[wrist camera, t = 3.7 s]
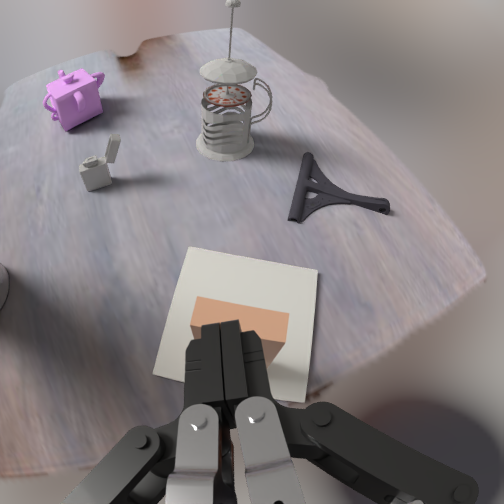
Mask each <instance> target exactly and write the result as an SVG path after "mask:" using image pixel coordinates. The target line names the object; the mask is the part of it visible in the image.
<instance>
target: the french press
mask: <svg viewBox="0 0 504 504" xmlns="http://www.w3.org/2000/svg"><path fill="white" fill-rule="evenodd" d="M240 4H241V3H240V1H239V0H227V1H226V7H232V14H231V15H232V16H231V28H230V43H229V58H222V59H217V60H212V61H210V62H208V63H206V64H205V65H203V66H202V67H201V68H200V74H201V76H202V77H203V78H204V79H205V80H207V81H210V82H212V83H217V84H216V85H215V84H214V85H212V86H210V87H208V88H207V89H206V90H205V91H204V92H203V99H202V103H201V106H202V133H201V134H200V135H199V137H198V138H197V140H196V148H197V149H198V150H199V152H200V153H201V154H202V155H204V156H205V157H207V158H209V159H212V160H217V161H235V160H238V159H241V158H244V157H246V156H247V155H248V154H250V153H251V152H252V150H253V147H254V141H253V138H252V137H251V136H250V130H251V125H252V124H254V123H257V122H260V121H262V120H263V119H265V118H266V117H267V116H268V114H269V113H270V111H271V107H272V93H271V90H270V88H269V86H268V85H267V84H266V83H265V82H264V81H262V80H260V79H259V78H255V79H254V85H253V90H255V85H259V86H261V87H263V88H264V89H265V90H266V91H267V93H268V95H269V97H270V104H269V105H268V107H267V109H266V110H265V111H264V112H263V113H261V114H260V115H256V116H253V117H251V109H252V100H251V96H252V95H251V92H250V91H249V90H248V89H247V88H246V87H243V86H241V85H237V84H242V83H246V82H248V81H250V80H253V78H254V77H255V76H256V74H257V70H256V68H255V67H254V66H252V65H251V64H249V63H247V62H245V61H243V60H240V59H233V58H230V52H231V37H232V23H233V9H234V7H240ZM256 80H259V81H261V82H263V83H264V84H265V85H266V86H267V87H268V90H269V91H268V90H267V89H266V88H265V87H264V86H262V85H261V84H259V83H256ZM269 92H270V93H269ZM244 103H246V106H245V105H244ZM210 104H213V105H215V106H213V107H210V108H207V105H210ZM239 105H240V106H242V107H243V108H244V109H245V112H244V111H243V110H242V109H240V108H238V107H236V106H239ZM220 106H222V107H224V108H222V109H220V110H218V111H216V112H213V113H212V112H209V111H212V110H214V109H216V108H218V107H220ZM227 109H235V110H237V111H239V112H241V113H240V114H237V113H236V112H226V113H224V114H222V115H220V114H218V113H220V112H223V111H225V110H227ZM268 109H269V111H268V113H267V114H266V115H265V117H264V118H262V119H261V120H258V121H254V122H252V123H251V120H252V118H256V117H259V116H261V115H263V114H264V113H266V111H267V110H268ZM241 121H243V123H242V122H241ZM209 123H211V124H213V125H211V126H207V124H209Z"/></svg>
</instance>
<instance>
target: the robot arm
mask: <svg viewBox="0 0 504 504" xmlns="http://www.w3.org/2000/svg"><path fill="white" fill-rule="evenodd" d="M8 290H9V276H8V273H7V271H6V269H5V267H4V266H3V265H2V264H1V263H0V309H1V308H2V306H3V304H4V302H5V300H6V297H7V294H8ZM236 426H237V430H238V435H239V440H240V445H241V450H242V454H243V459H244V463H245V477H246V482H247V487H248V491H249V495H250V500H251V504H306V503H305V500H304V497H303V493H302V490H301V487H300V484H299V480H298V477H297V474H296V471H295V467H294V464H293V462H292V460H291V457H293V458H303V459H307V460H308V461H310V462H311V463H313V464H314V465H316V466H317V467H319V468H320V469H322V470H323V471H325V472H326V473H328V474H329V475H331V476H333V477H334V478H336V479H337V480H339V481H340V482H342V483H344V484H345V485H347V486H348V487H350V488H352V489H353V490H355V491H357V492H358V493H360V494H362V495H364V496H365V497H367V498H369V499H371V500H372V501H374V502H376V503H378V504H474V503H475V502H476V500H477V497H478V485H477V483H476V481H475V480H474V479H473V478H472V477H470V476H468V475H466V474H463V473H461V472H459V471H457V470H455V469H453V468H450V467H448V466H446V465H444V464H442V463H440V462H438V461H436V460H434V459H431V458H430V457H428V456H426V455H424V454H422V453H420V452H418V451H416V450H414V449H412V448H410V447H408V446H406V445H404V444H402V443H400V442H399V441H397V440H395V439H393V438H391V437H389V436H388V435H386V434H384V433H382V432H380V431H378V430H377V429H375V428H373V427H371V426H370V425H368V424H366V423H364V422H363V421H361V420H359V419H357V418H355V417H354V416H352V415H351V414H349V413H347V412H345V411H344V410H342V409H340V408H339V407H337V406H335V405H334V404H332V403H328V402H317V403H313V404H311V405H310V406H308V407H307V408H306V409H295V408H288V407H284V406H282V405H280V404H279V403H277V402H276V401H275V399H274V398H273V396H272V394H271V390H270V384H269V379H268V374H267V368H266V363H265V358H264V352H263V347H262V341H261V338H260V337H259V336H258V334H257V333H256V332H255V331H254V330H251V331H245V332H242V330H241V326H240V322H239V319H237V320H231V321H225V322H221V324H220V322H219V323H212V324H206V325H202V326H201V338H200V339H193V340H191V341H190V343H189V345H188V347H187V349H186V351H185V383H184V408H183V411H182V413H181V414H180V416H179V417H178V418H177V419H176V420H175V421H173V422H171V423H169V424H167V425H164V426H161V427H159V428H156V429H152V428H151V427H148V426H137V427H134V428H132V429H131V430H130V431H128V432H127V434H126V435H125V436H124V437H123V438H122V439H121V440H120V441H119V442H118V443H117V444H116V445H115V446H114V448H113V449H112V450H111V451H110V452H109V453H108V454H107V455H106V456H105V457H104V458H103V459H102V460H101V461H100V462H99V464H98V465H97V466H96V467H95V468H94V469H93V470H92V471H91V472H90V473H89V474H88V475H87V476H86V477H85V478H84V479H83V480H82V481H81V482H80V484H79V485H78V486H77V487H76V488H75V489H74V490H73V491H72V492H71V493H70V494H69V495H68V496H67V497H66V498H65V499H64V500H63V501H62V502H61V503H60V504H157V503H158V502H159V501H160V500H161V499H162V498H163V497H164V495H165V494H166V499H165V504H237V497H236V493H235V487H234V446H233V442H232V441H231V437H230V429H234V428H236Z"/></svg>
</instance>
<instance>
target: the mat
mask: <svg viewBox="0 0 504 504" xmlns="http://www.w3.org/2000/svg"><path fill="white" fill-rule="evenodd" d="M317 272H318V270H314V269H308V268H303V267H297V266H292V265H286V264H281V263H275V262H270V261H264V260H259V259H254V258H248V257H243V256H237V255H232V254H227V253H221V252H216V251H211V250H205V249H200V248H195V247H189V248H188V251H187V254H186V257H185V260H184V264H183V267H182V270H181V273H180V277H179V280H178V283H177V287H176V290H175V293H174V297H173V300H172V304H171V307H170V311H169V314H168V318H167V321H166V325H165V328H164V332H163V336H162V339H161V343H160V347H159V351H158V354H157V358H156V362H155V366H154V370H153V375H156V376H160V377H164V378H168V379H172V380H176V381H180V382H184V383H185V351H186V349H187V347H188V345H189V343H190V341H191V340H193V339H194V337H193V334H192V331H191V327H190V322H191V318H192V314H193V310H194V306H195V302H196V298H197V296H200V297H204V298H209V299H214V300H219V301H225V302H230V303H235V304H240V305H246V306H251V307H256V308H262V309H268V310H273V311H279V312H285V313H289V321H288V329H287V336H286V343H285V344H284V346H283V347H282V349H281V350H280V351H279V353H278V354H277V356H276V357H275V358H274V360H273V361H272V363H271V364H270V365H269V367H268V368H267V374H268V379H269V384H270V390H271V394H272V396H273V398H274V399H275V400H282V401H290V402H299V403H305V397H306V389H307V381H308V373H309V364H310V355H311V345H312V335H313V324H314V313H315V301H316V287H317Z"/></svg>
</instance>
